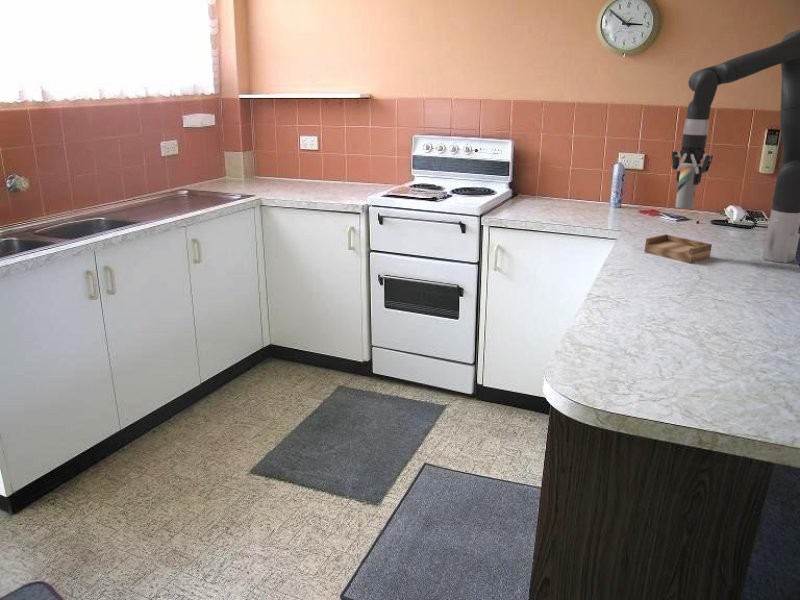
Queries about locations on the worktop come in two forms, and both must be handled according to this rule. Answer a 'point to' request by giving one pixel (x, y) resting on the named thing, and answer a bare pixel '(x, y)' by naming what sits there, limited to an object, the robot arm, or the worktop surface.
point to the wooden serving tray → (678, 248)
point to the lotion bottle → (686, 184)
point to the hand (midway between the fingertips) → (687, 183)
